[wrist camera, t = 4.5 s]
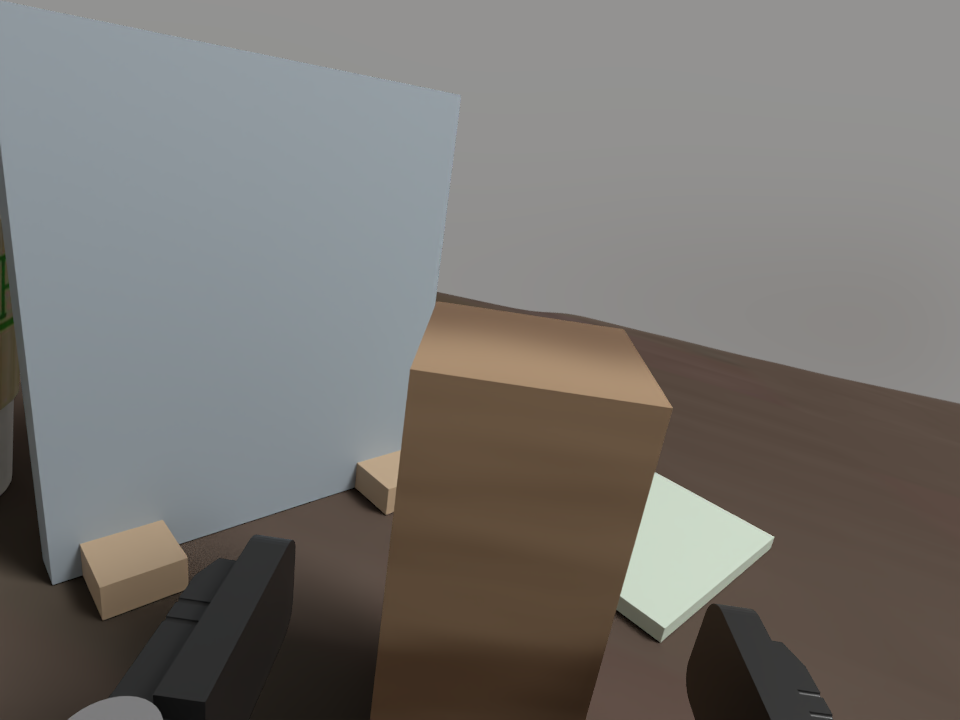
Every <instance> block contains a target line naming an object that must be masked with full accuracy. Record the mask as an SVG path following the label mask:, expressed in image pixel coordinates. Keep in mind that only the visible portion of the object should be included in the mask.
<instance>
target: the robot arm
mask: <svg viewBox="0 0 960 720" xmlns="http://www.w3.org/2000/svg"><path fill="white" fill-rule="evenodd" d="M294 567H295V542H294V540H289V539H282V538H275V537H268V536H262V535H254V536H253V537H252V538H251V539H250V540H249V542H248V544H247V545H246V547H245V548H244V550H243V552H242V553H241V555H240V556H239V558H238V560H237V561H235V560H228V559H221V558H219V559H217V560H216V561H214V562H213V563H212V564H210V565H209V566H207V567H206V568H205V569H203V570H202V571H200V572H199V573H197V574H196V575H195V576H194V577H193V579H192V580H191V581H190V583H189V584H188V586H187V587H186V589H185V590H184V591H183V593H182V594H181V596H180V597H179V601H178V602H176V603H175V604H174V606H173V607H172V608H171V610H170V611H169V613H168V614H167V616H166V619H165V621H162V623H161V624H160V626H159V627H158V628H157V630H156V631H155V633H154V634H153V636H152V637H151V638H150V640H149V641H148V643H147V644H146V646H145V647H144V648H143V650H142V651H141V653H140V654H139V656H138V657H137V658H136V660H135V661H134V663H133V664H132V666H131V667H130V668H129V670H128V671H127V673H126V674H125V676H124V677H123V678H122V680H121V681H120V683H119V684H118V686H117V687H116V688H115V690H114V691H113V692H112V694H111V695H110V696H109V697H108V699H105V700H101V701H98V702H96V703H94V704H91V705H89V706H87V707H86V708H84V709H82V710H80V711H79V712H77V713H76V714H74V715H73V716H72V717H70V718H69V719H68V720H249V718H250V716H251V713H252V711H253V709H254V706H255V704H256V702H257V700H258V697H259V695H260V693H261V690H262V688H263V686H264V684H265V681H266V679H267V677H268V674H269V672H270V670H271V668H272V665H273V663H274V661H275V658H276V656H277V654H278V651H279V649H280V647H281V645H282V642H283V640H284V638H285V635H286V632H287V629H288V625H289V621H290V617H291V612H292V604H293V587H294ZM686 686H687V694H688V698H689V702H690V705H691V708H692V711H693V714H694V717H695V720H833V719H832V713H831V711H830V709H829V708H828V706H827V704H826V702H825V701H824V699H823V698H821V697H820V692H819V690H818V688H817V686H816V685H815V683H814V681H813V679H812V677H811V676H810V674H809V672H808V670H807V669H806V667H805V666H804V665H803V664H802V663H801V661H800V660H799V659H798V658H797V657H796V656H795V655H794V654H793V653H792V652H791V651H790V650H789V649H788V648H787V647H786V646H785V645H784V644H783V643H782V642H776V641H772V640H771V638H770V637H769V635H768V633H767V631H766V629H765V627H764V625H763V623H762V621H761V619H760V617H759V616H758V614H757V613H756V612H755V611H754V610H752V609H747V608H741V607H734V606H727V605H720V604H711V605H710V606H709V607H708V609H707V611H706V613H705V616H704V619H703V622H702V625H701V628H700V630H699V633H698V636H697V639H696V642H695V645H694V648H693V650H692V653H691V656H690V659H689V662H688V666H687V673H686Z"/></svg>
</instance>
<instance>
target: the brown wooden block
mask: <svg viewBox="0 0 960 720" xmlns="http://www.w3.org/2000/svg"><path fill="white" fill-rule="evenodd" d="M672 409H673V408H672V406H671V405H670V403H669V401H668V400H667V398H666V397H665V395H664V393H663V392H662V390H661V389H660V387H659V385H658V384H657V382H656V381H655V379H654V377H653V376H652V374H651V372H650V371H649V369H648V368H647V366H646V364H645V363H644V361H643V360H642V358H641V356H640V355H639V353H638V352H637V350H636V348H635V347H634V345H633V343H632V342H631V340H630V339H629V337H628V335H627V334H626V332H625V331H624V329H617V328H611V327H604V326H597V325H591V324H584V323H578V322H571V321H564V320H558V319H551V318H544V317H538V316H531V315H525V314H518V313H511V312H505V311H498V310H491V309H485V308H478V307H472V306H465V305H458V304H452V303H445V302H438V301H437V302H436V305H435V307H434V310H433V312H432V315H431V317H430V320H429V322H428V325H427V328H426V330H425V333H424V335H423V338H422V340H421V343H420V345H419V348H418V350H417V353H416V355H415V358H414V360H413V363H412V365H411V368H410V374H409V382H408V391H407V400H406V409H405V417H404V426H403V435H402V444H401V452H400V461H399V470H398V479H397V487H396V496H395V505H394V514H393V522H392V531H391V540H390V549H389V557H388V566H387V575H386V584H385V592H384V601H383V610H382V619H381V627H380V636H379V645H378V654H377V662H376V671H375V680H374V689H373V697H372V706H371V715H370V720H585V719H586V715H587V712H588V708H589V705H590V701H591V698H592V694H593V691H594V687H595V683H596V680H597V676H598V673H599V669H600V666H601V662H602V658H603V655H604V651H605V648H606V644H607V641H608V637H609V634H610V630H611V626H612V623H613V619H614V616H615V612H616V609H617V605H618V602H619V598H620V594H621V591H622V587H623V584H624V580H625V577H626V573H627V569H628V566H629V562H630V559H631V555H632V552H633V548H634V545H635V541H636V537H637V534H638V530H639V527H640V523H641V520H642V516H643V512H644V509H645V505H646V502H647V498H648V495H649V491H650V488H651V484H652V480H653V477H654V473H655V470H656V466H657V463H658V459H659V456H660V452H661V448H662V445H663V441H664V438H665V434H666V431H667V427H668V423H669V420H670V416H671V413H672Z"/></svg>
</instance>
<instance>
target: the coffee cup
mask: <svg viewBox="0 0 960 720" xmlns="http://www.w3.org/2000/svg"><path fill="white" fill-rule="evenodd" d="M19 376H20V369H19V361H18V353H17V344H16V336H15V328H14V320H13V312H12V304H11V296H10V287H9V279H8V271H7V263H6V255H5V247H4V239H3V230H2V222H1V214H0V495H1V494H2V493H3V492H4V491H5V490H6V489H7V487H8V486H9V484H10V482H11V480H12V460H13V412H14V398H15V396H16V395H17V393H18V391H19Z"/></svg>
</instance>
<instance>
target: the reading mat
mask: <svg viewBox="0 0 960 720" xmlns="http://www.w3.org/2000/svg"><path fill="white" fill-rule="evenodd" d="M773 540H774V537H773V536H771V535H770V534H768V533H766V532H764V531H762V530H760V529H759V528H757V527H755V526H753V525H751V524H749V523H747V522H746V521H744V520H742V519H740V518H738V517H736V516H735V515H733V514H731V513H729V512H727V511H725V510H724V509H722V508H720V507H718V506H716V505H714V504H712V503H711V502H709V501H707V500H705V499H703V498H701V497H700V496H698V495H696V494H694V493H692V492H690V491H688V490H687V489H685V488H683V487H681V486H679V485H677V484H676V483H674V482H672V481H670V480H668V479H666V478H665V477H663V476H661V475H659V474H657V473H654V477H653V480H652V484H651V488H650V491H649V495H648V498H647V502H646V505H645V509H644V512H643V516H642V520H641V523H640V527H639V530H638V534H637V537H636V541H635V545H634V548H633V552H632V555H631V559H630V562H629V566H628V569H627V573H626V577H625V580H624V584H623V587H622V591H621V594H620V598H619V602H618V605H617V609H616V610H617V611H619V612H620V613H621V614H623V615H624V616H625V617H627V618H628V619H629V620H631V621H632V622H633V623H635V624H636V625H638V626H639V627H640V628H642V629H643V630H644V631H646V632H647V633H648V634H650V635H651V636H652V637H654V638H655V639H656V640H658V641H659V642H662V641H663V640H664V639H665V638H666V637H667V636H669V635H670V634H671V633H672V632H673V631H674V630H676V629H677V628H678V627H679V626H680V625H681V624H683V623H684V622H685V621H686V620H687V619H689V618H690V617H691V616H692V615H693V614H694V613H696V612H697V611H698V610H699V609H700V608H701V607H703V606H704V605H705V604H706V603H707V602H708V601H710V600H711V599H712V598H713V597H714V596H715V595H717V594H718V593H719V592H720V591H721V590H722V589H724V588H725V587H726V586H727V585H728V584H729V583H731V582H732V581H733V580H734V579H735V578H737V577H738V576H739V575H740V574H741V573H742V572H744V571H745V570H746V569H747V568H748V567H749V566H751V565H752V564H753V563H754V562H755V561H756V560H758V559H759V558H760V557H761V556H762V555H763V554H765V553H766V552H767V551H768V550H769V549H770V548H771V545H772V543H773Z"/></svg>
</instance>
